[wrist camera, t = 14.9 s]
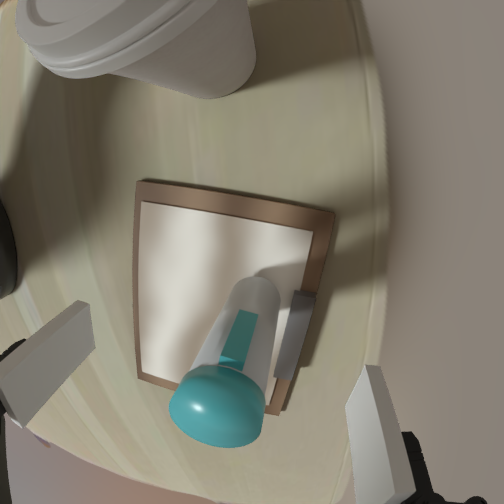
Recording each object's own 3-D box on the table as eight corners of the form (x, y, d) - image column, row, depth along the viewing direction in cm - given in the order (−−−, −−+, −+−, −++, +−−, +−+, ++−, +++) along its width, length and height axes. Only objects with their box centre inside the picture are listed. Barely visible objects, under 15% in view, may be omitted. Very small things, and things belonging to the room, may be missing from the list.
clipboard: (140, 375, 28) (133, 384, 27) (140, 180, 22) (129, 182, 20) (279, 411, 27) (278, 422, 25) (334, 212, 20) (337, 217, 19)
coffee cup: (302, 77, 18) (303, -65, 4) (188, 143, 21) (23, 130, 6) (237, -8, 16) (169, -137, 2) (137, 54, 19) (-2, -7, 5)
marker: (228, 307, 23) (167, 430, 11) (239, 258, 22) (172, 368, 10) (275, 320, 23) (249, 455, 11) (290, 272, 21) (275, 399, 9)
